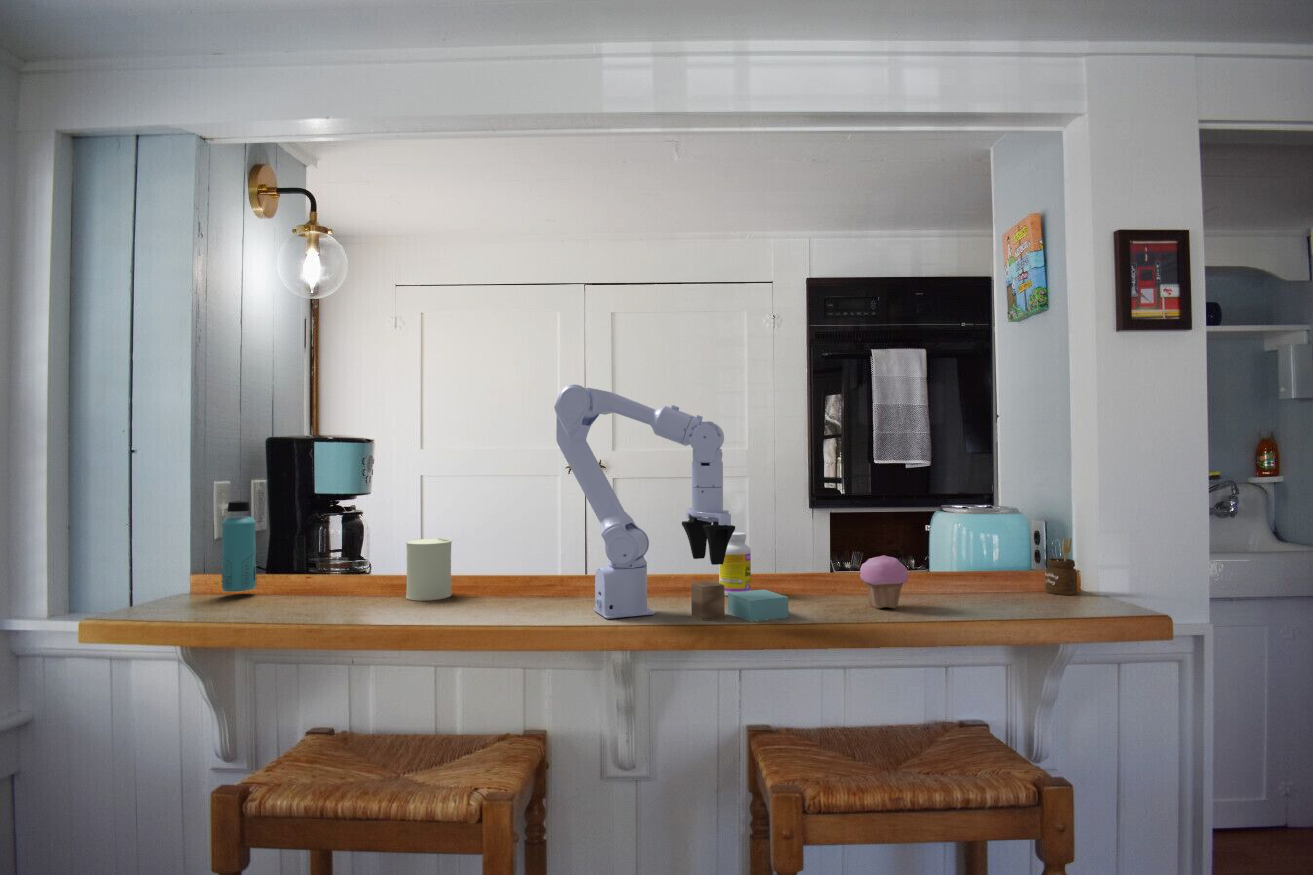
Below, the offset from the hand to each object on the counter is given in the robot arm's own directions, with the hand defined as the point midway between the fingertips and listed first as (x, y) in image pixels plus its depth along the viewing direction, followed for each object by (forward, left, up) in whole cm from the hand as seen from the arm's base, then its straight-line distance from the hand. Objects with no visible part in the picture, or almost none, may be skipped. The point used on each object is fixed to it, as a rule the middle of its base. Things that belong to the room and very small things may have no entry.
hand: (707, 561), depth 134 cm
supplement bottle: (+14, +17, -10) cm, 24 cm away
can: (-46, +40, -10) cm, 61 cm away
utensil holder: (+78, -9, -10) cm, 80 cm away
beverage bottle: (-83, +56, -10) cm, 100 cm away
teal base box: (+9, -2, -10) cm, 14 cm away
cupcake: (+34, -6, -10) cm, 37 cm away
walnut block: (0, 0, -10) cm, 10 cm away
